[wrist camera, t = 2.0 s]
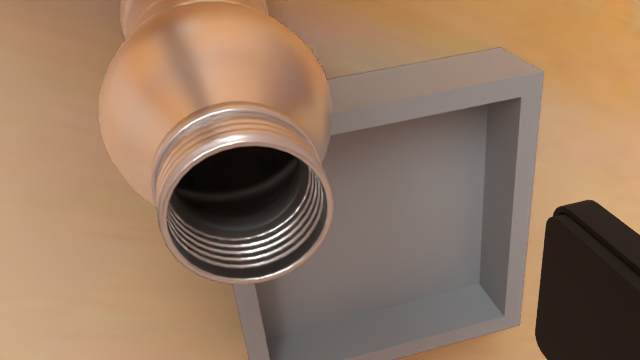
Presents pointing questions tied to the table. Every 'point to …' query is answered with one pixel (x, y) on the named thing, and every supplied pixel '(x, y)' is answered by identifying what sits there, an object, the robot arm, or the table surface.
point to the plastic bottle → (221, 134)
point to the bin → (412, 215)
